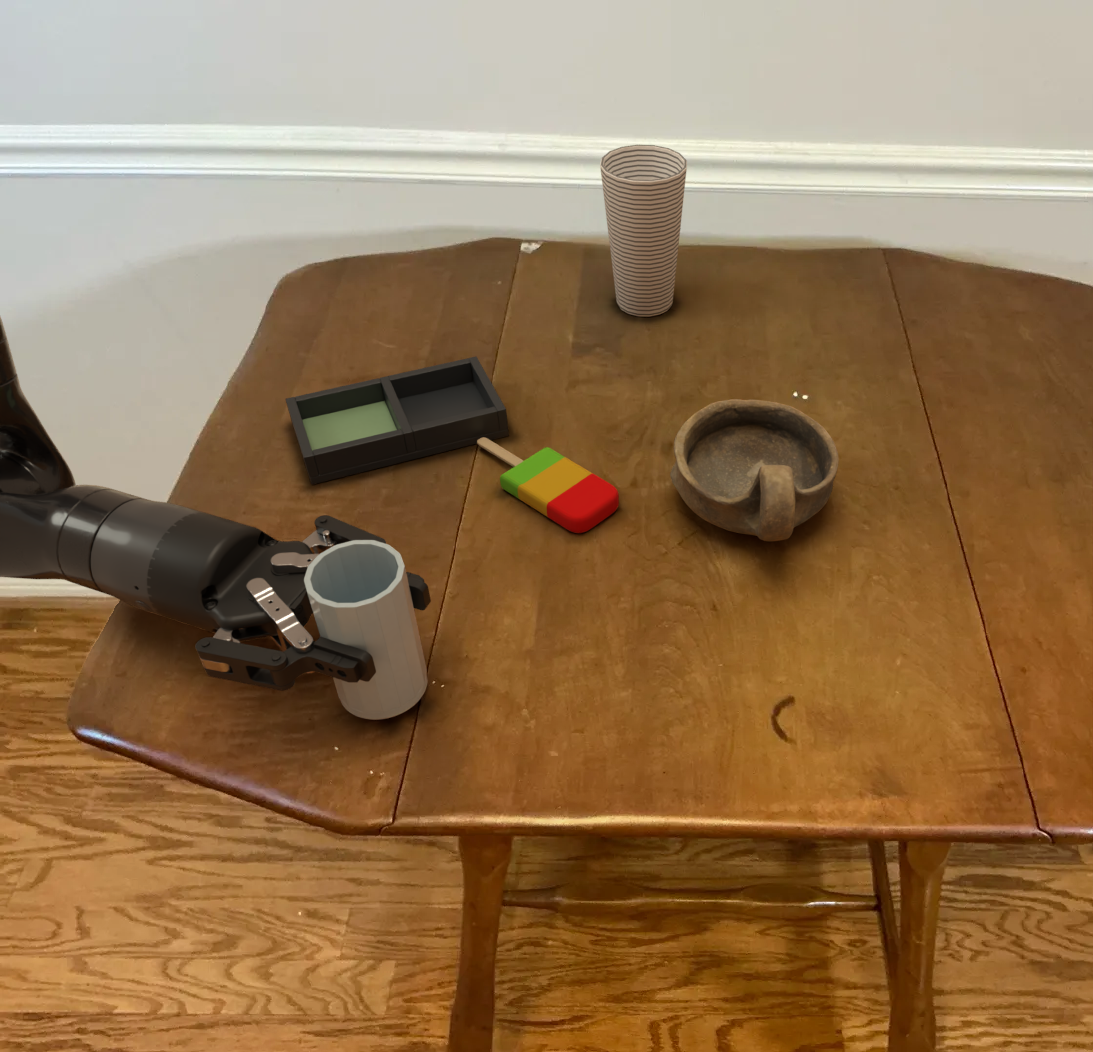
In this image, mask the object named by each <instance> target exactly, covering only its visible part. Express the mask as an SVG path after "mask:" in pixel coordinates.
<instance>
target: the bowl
mask: <svg viewBox="0 0 1093 1052" xmlns="http://www.w3.org/2000/svg"><path fill="white" fill-rule="evenodd" d="M673 441H674V442H673V452H674V453H673V454H674V458H675V462H674V463H673V465H672V467H671V468H670V469H671V470H670V473H669V476H670V480H671V483H672V485H673V486H674V488H675V489H676V490H677V492H678V494H679V496H680V498H681V499H682V500H683V501H684V503H685V504H686V505H687V507H688V508H689V509H690V510H691V511H692V512H693V513H694V514H695V515H697V516H698V517H700V518H701V519H702V520H703V521H706V522H708V523H709V524H711V525H714V526H716V527H718V528H720V529H724V530H726V531H728V532H733V533H738V534H743V535H749V536H757V538H758V539H759V540H761V541H764V542H778V541H784V540H785V541H786V540H788V539H789V538H790V537H791V536H792V534H793V532H794V528H795V527H798V526H800V525H801V524H804V523H806V522H807V521H808V520H809V519H811V518H812V517H813V516H815V515H816V514H818V513H819V512H820V511H821V510H822V509H823V508H824V507H825V505H826V504H827V502H828V501H829V500H830V497H831V495H832V492H833V487H834V480H835V478H836V477H837V476H836V475H837V472H838V468H839V461H840V460H839V452H838V449H837V446H836V443H835V441H834V439H833V438H832V436H831V434H830V433H829V432H828V431H827V430H826V428H825V427H824V426H823V425H822V424H820V423H819V422H818V421H816V420H815V419H813V418H812V417H811V416H809V415H808V414H806V413H805V412H803V411H801V410H800V409H797V408H795V407H793V406H791V405H789V404H783V403H781V402H776V401H769V400H762V399H761V400H760V399H740V398H733V399H732V398H731V399H725V400H719V401H715V402H711V403H710V404H707V405H706V406H704V407H702V408H701V409H699V410H697V411H695V413H693V414H692V415H691V416H690V417H689V418H688V419H686V420H685V422H684V423H683V424H682V425H681V427H680V428H679V430H678V431H677V433H676V434H675V438H674V440H673Z"/></svg>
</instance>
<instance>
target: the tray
mask: <svg viewBox="0 0 1093 1052" xmlns="http://www.w3.org/2000/svg"><path fill="white" fill-rule="evenodd" d="M285 404H286V406H287V410H288V414H289V417H290V420H291V424H292V427H293V430H294V433H295V437H296V440H297V443H298V447H299V450H300V453H301V456H302V460H303V462H304V466H305V469H306V472H307V476H308V478H309V481H310V484H311V485H316V484H321V483H325V482H329V481H333V480H337V479H341V478H344V477H349V476H351V475H356V474H360V473H365V472H368V471H372V470H376V469H380V468H385V467H388V466H389V467H390V466H393V465H396V464H400V463H405V462H409V461H413V460H417V459H420V458H424V457H429V456H433V455H437V454H441V453H446V452H449V451H454V450H458V449H461V448H465V447H469V446H473V445H478V444H477V440H478V439H480V438H483V437H485V438H487V439H489V440H491V441H492V440H493V441H494V440H496V439H501V438H505V437H508V436H509V435H510V432H509V421H508V415H507V408H506V407H505V405H504V402H503V401H502V399H501V398H500V395H499V394H498V392H497V390H496V389H495V387H494V385H493V383H492V381H491V379H490V378H489V376H488V374H487V372H486V371H485V369H484V367H483V365H482V364H481V362H480V360H479V358H478V356H476V355H475V356H472V357H468V358H467V357H466V358H463V359H462V358H461V359H459V360H454V361H448V362H444V363H440V364H436V365H431V366H426V367H422V368H417V369H413V370H408V371H403V372H400V373H399V372H398V373H395V374H391V375H386V376H382V377H377V378H373V379H368V380H364V381H359V382H355V383H351V384H345V385H341V386H337V387H333V388H327V389H324V390H323V389H322V390H319V391H314V392H310V393H306V394H301V395H296V396H290V397H287V398H285Z"/></svg>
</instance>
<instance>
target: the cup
mask: <svg viewBox="0 0 1093 1052" xmlns="http://www.w3.org/2000/svg"><path fill="white" fill-rule="evenodd" d="M599 168H600V176H601V184H602V185H601V186H602V192H603V201H604V209H605V217H606V218H605V219H606V225H607V234H608V242H609V250H610V259H611V266H612V273H613V275H612V276H613V283H614V291H615V300H616V301H615V302H616V304H617V306H618V307H619V309H620V310H621V311H623V312H625V314H628V315H632V316H636V317H655V316H659V315H661V314H664V313H666V312H668V310H669V309H670V308H671V307H672V306H673V302H674V292H675V283H676V275H677V264H678V255H679V254H678V253H679V246H680V234H681V226H682V225H681V224H682V217H683V208H684V199H685V198H684V197H685V187H686V178H687V169H688V160H687V159H686V158H685V156H683V154H682V153H680V152H678V151H677V150H674V149H671V148H669V147H665V146H660V145H656V144H632V145H626V146H625V145H624V146H620V147H618V148H614V149H611V150H609V151H608V152H607V153H605V154H604V155H603V156H602V157H601V158H600V163H599Z"/></svg>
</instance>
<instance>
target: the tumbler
mask: <svg viewBox="0 0 1093 1052" xmlns="http://www.w3.org/2000/svg"><path fill="white" fill-rule="evenodd" d="M406 572H407V569H406V565H405V563H404V559H403V558H402V554H401V553H400V552H399V551H398V550H396V549H395V548H394V547H392V546H391V545H390V544H388V543H386V544H385V543H382V542H378V541H375V540H353V541H349V542H345V543H341V544H337V545H335V546H333V547H331V548H329V549H327V550H326V551H324V552H322V553H320V554H319V555H318V556H317V557H316V558H315V559H314V560H313V561H312V563H311V564H310V565H309V566H308V568H307V571H306V574H305V577H304V583H305V587H306V590H307V594H308V597H309V600H310V604H311V607H312V610H313V613H312V615H313V616H314V620H315V623H316V626H317V630H318V633H319V637H323V638H327V639H330V640H332V641H335V642H339V643H342V644H345V645H349V646H352V647H355V648H358V649H361V650H364V651H367V652H368V653H369V654H371V656H372V657H373V661H374V665H375V669H376V673H375V675H374V676H373V677H372V678H371V680H370V681H369V682H365V681H362V680H359V681H358V682H355V683H349V682H346V681H343V680H341V679H336V678H333V677H332V679H333V683H334V686H335V689H336V692H337V696H338V700H339V702H340V704H341V705H342V706H343V708H344V709H345V710H346V711H347V712H349V713H350V714H351V715H353V716H355V717H358V718H360V719H364V720H373V721H375V720H376V721H377V720H386V719H389V718H394V717H396V716H397V717H398V716H399V715H401V714H403V713H405V712H407V711H408V710H410V709H411V708H413V707H414V706H415V705H416V704H417V703H418V702H419V701H420V700H421V699H422V697H423V695H424V694H425V692H426V690H427V686H428V681H429V679H428V673H427V671H428V668H427V665H426V660H425V655H424V650H423V645H422V641H421V636H420V631H419V627H418V621H417V616H416V611H415V608H414V607H413V602H412V597H411V593H410V588H409V583H408V578H407V574H406Z"/></svg>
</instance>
